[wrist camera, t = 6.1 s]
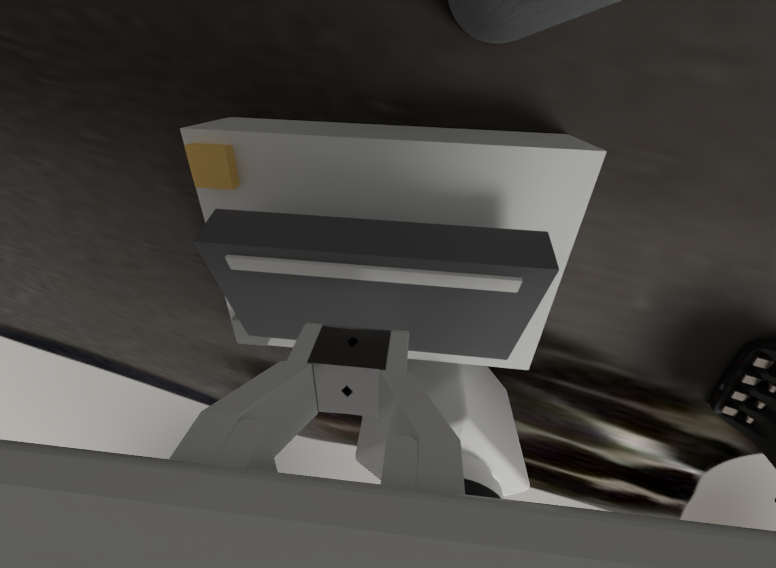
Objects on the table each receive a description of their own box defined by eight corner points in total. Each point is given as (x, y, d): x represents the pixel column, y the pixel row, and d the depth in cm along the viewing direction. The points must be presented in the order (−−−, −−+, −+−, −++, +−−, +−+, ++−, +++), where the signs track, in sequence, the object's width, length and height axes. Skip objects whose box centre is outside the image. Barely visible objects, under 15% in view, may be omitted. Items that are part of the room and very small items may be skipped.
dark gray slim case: (547, 231, 12) (560, 273, 10) (502, 326, 16) (507, 363, 15) (215, 208, 13) (190, 244, 11) (261, 305, 17) (247, 338, 16)
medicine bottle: (370, 365, 25) (329, 570, 14) (455, 323, 22) (479, 540, 12) (425, 420, 27) (423, 626, 17) (507, 389, 24) (564, 612, 14)
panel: (567, 134, 15) (617, 155, 11) (512, 323, 21) (532, 381, 17) (230, 116, 17) (166, 131, 12) (265, 301, 22) (230, 352, 18)
